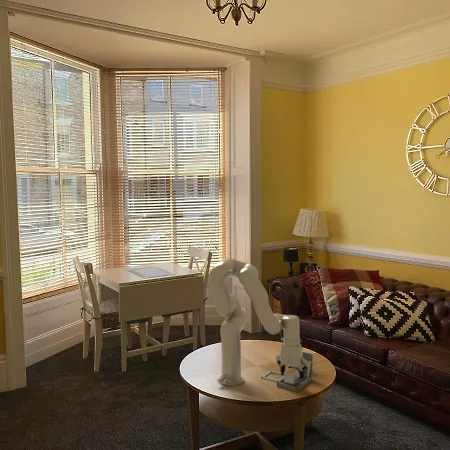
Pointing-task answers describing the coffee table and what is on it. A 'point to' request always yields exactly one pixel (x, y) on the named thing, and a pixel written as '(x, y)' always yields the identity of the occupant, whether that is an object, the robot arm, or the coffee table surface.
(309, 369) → the case
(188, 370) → the coffee table surface
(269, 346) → the coffee table surface
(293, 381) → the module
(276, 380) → the tray
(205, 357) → the coffee table surface
